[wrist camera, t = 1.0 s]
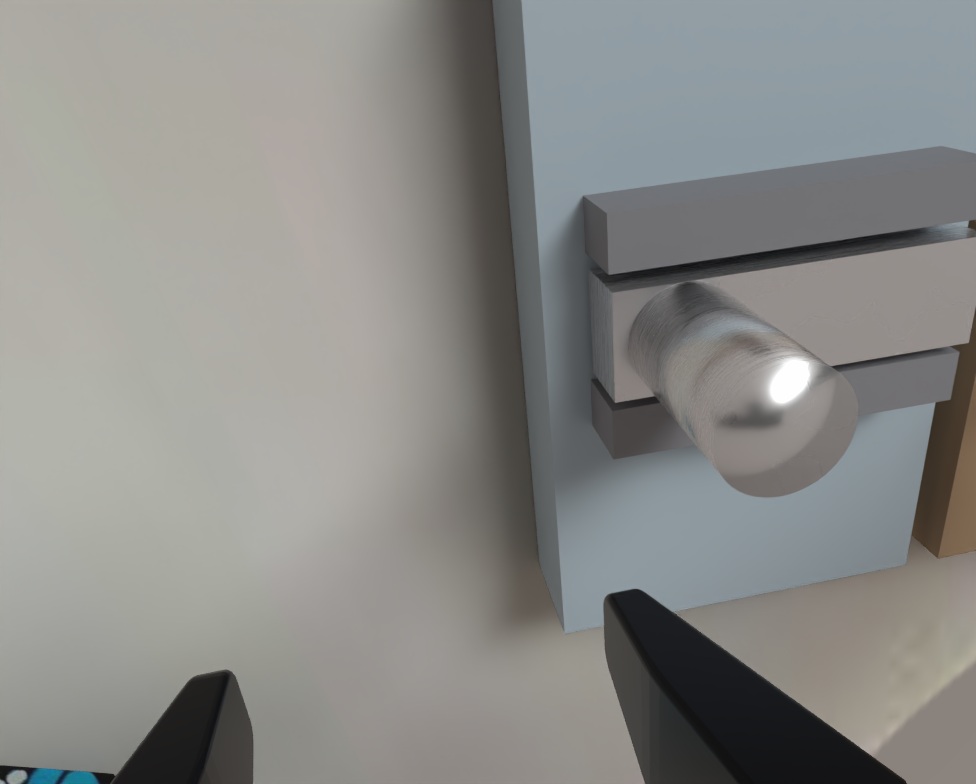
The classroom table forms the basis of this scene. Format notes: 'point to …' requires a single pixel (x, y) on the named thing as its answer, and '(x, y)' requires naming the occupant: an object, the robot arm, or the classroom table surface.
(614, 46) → the door panel
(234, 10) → the classroom table surface
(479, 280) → the classroom table surface
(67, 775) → the decorative butterfly
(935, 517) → the jamb
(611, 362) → the bolt
